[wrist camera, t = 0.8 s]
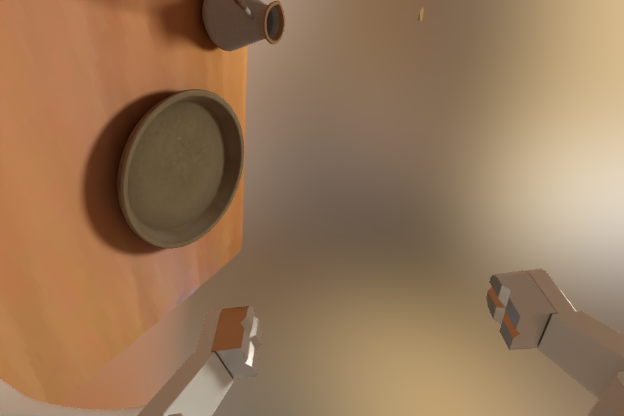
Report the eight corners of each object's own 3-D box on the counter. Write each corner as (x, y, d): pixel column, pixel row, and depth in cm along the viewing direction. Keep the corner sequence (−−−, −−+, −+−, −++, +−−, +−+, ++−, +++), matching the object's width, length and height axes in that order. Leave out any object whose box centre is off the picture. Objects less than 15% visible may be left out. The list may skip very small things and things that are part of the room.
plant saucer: (220, 66, 68) (239, 70, 66) (236, 191, 87) (251, 196, 85) (70, 121, 46) (92, 129, 44) (136, 271, 65) (153, 281, 64)
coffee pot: (240, -7, 66) (308, 1, 60) (231, 55, 69) (294, 68, 64) (148, -72, 47) (235, -68, 41) (140, 18, 50) (220, 32, 44)
